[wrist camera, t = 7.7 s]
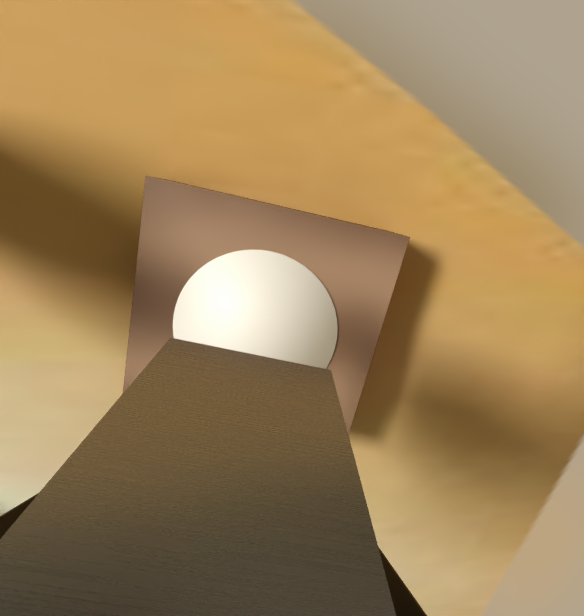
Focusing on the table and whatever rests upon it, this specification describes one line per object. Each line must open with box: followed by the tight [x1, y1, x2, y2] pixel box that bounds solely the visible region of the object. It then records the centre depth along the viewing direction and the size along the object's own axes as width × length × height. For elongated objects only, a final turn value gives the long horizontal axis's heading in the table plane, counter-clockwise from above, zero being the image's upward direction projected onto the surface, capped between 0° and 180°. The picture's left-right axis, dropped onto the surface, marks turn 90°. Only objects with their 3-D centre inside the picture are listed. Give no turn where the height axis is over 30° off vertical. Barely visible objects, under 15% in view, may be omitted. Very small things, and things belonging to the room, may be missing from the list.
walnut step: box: [123, 176, 410, 435], centre depth 19 cm, size 12×12×3 cm
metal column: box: [0, 338, 396, 616], centre depth 7 cm, size 4×4×8 cm
